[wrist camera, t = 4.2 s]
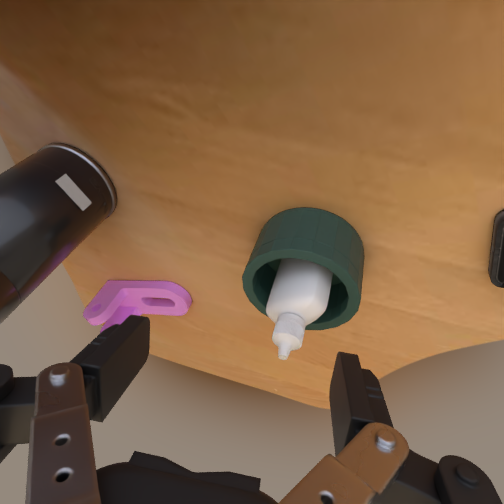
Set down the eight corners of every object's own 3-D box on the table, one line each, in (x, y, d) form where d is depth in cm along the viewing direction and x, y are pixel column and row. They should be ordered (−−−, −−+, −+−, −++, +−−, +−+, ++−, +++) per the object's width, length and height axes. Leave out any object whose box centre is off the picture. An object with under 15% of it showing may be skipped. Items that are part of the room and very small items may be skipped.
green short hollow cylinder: (261, 277, 40) (246, 317, 35) (257, 201, 32) (237, 240, 28) (355, 293, 37) (350, 339, 33) (373, 214, 30) (370, 261, 26)
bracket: (126, 305, 53) (100, 342, 48) (108, 280, 50) (77, 317, 45) (197, 308, 48) (176, 351, 43) (181, 281, 45) (156, 323, 40)
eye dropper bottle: (337, 270, 35) (321, 378, 26) (284, 267, 37) (253, 366, 28) (335, 237, 32) (317, 345, 24) (278, 236, 34) (242, 335, 26)
